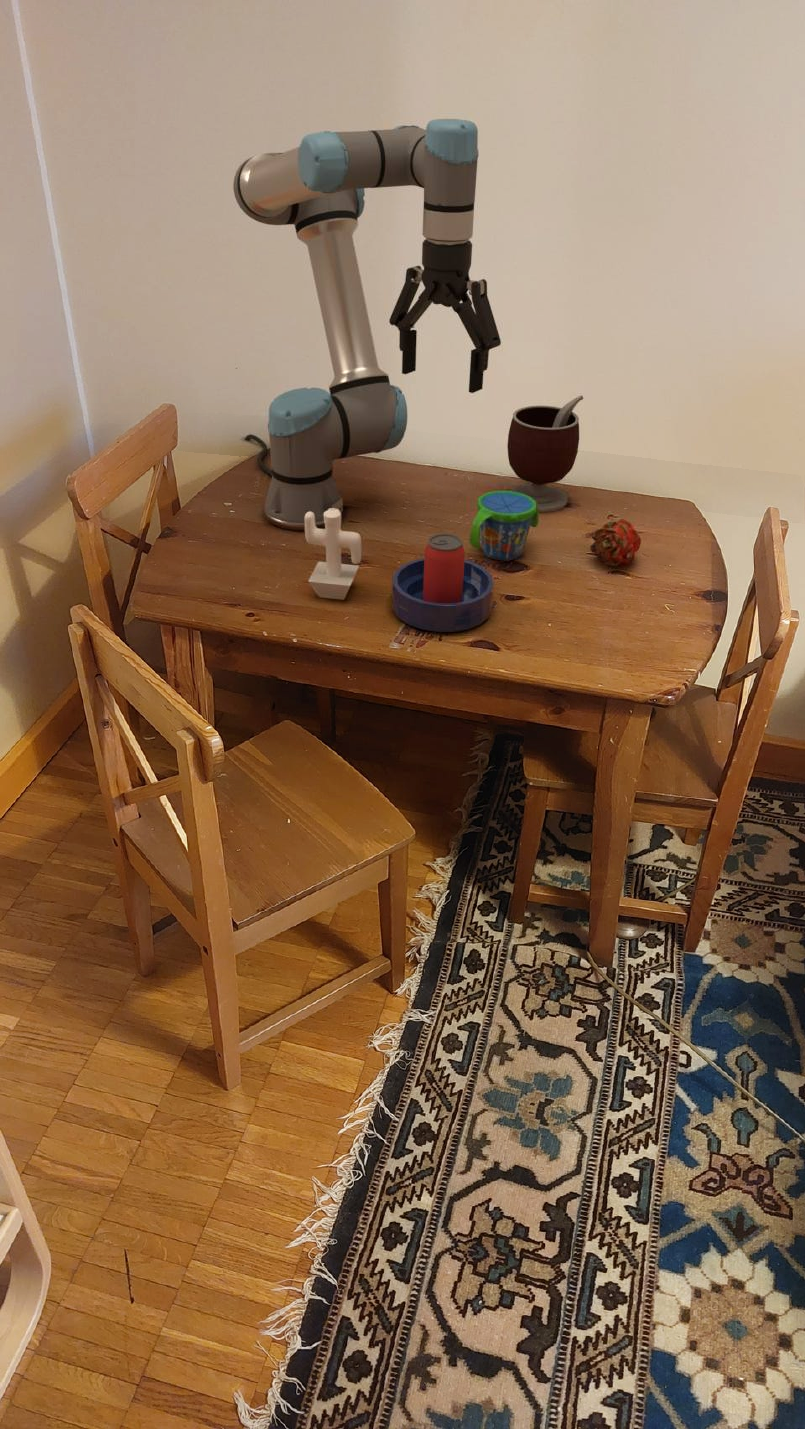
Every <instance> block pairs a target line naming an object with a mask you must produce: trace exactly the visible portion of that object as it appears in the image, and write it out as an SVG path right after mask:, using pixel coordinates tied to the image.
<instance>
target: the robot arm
mask: <svg viewBox="0 0 805 1429" xmlns="http://www.w3.org/2000/svg"><path fill="white" fill-rule="evenodd" d="M478 133H479V130H478V126H477V125H476V123H475V122H473V121H471V120H467V119H459V118H438V119H437V118H435V119H432V120H430V121H428V122H427V125H426V127H425V129H424V128H422V127H420V126H418V125H405V124H404V125H398V126H395V127H394V128H391V129H376V130H375V129H374V130H359V131H358V130H357V131H330V130H325V131H320V132H315V133H308V134H306V135H305V136H303V138H302V139H301V142H300V144H299V146H297V147H294V148H292V149H290V150H287V151H283V152H268V153H262V154H258V155H254V156H252V157H249V158H248V159H246V160H244V161H243V162H241V164H240V165H239V166H238V168H237V170H236V172H235V174H234V177H233V184H232V185H233V186H232V187H233V194H234V198H235V200H236V203H237V204H238V207H239V208H240V209H241V210H242V212H243V213H244V214H245V215H246V216H248V217H249V218H250V219H252V220H254V221H256V222H258V223H260V224H265V225H269V226H286V225H291V226H292V225H294V229H295V234H296V238H297V239H298V241H300V242H302V243H303V244H305V245H306V247H307V251H308V255H309V260H310V265H311V270H312V275H313V279H314V285H315V289H316V294H317V299H318V303H319V309H320V313H321V319H322V323H323V328H324V332H325V337H326V342H327V346H328V352H329V357H330V362H331V366H332V371H333V379H332V381H331V382H330V384H329V385H328V390H326V389H323V388H320V387H310V388H308V387H300V388H294V389H291V390H288V391H285V392H283V393H281V394H279V395H278V396H276V397H275V398H274V399H273V401H271V403H270V405H269V408H268V422H267V429H268V437H269V449H270V450H269V452H270V465H271V466H270V468H271V469H270V468H269V467H267V466H266V465H265V464H264V462H263V460H264V459H265V458H264V457H265V456H266V454H267V453H268V446H267V443H265V441H263V440H262V439H261V438H260V437H259V436H257V435H255V434H250V433H249V434H246V436H245V438H244V441H246V442H247V441H250V440H253V441H255V442H257V443H258V445H259V446H261V448H262V451H261V452H260V454H259V455H258V457H257V465H258V467H259V468H260V469H261V470H262V471H263V472H264V473H266V474H267V475H269V476H271V480H270V484H269V487H268V490H267V493H266V498H265V501H264V517H265V519H266V521H268V522H269V523H270V524H272V525H273V526H276V527H278V528H280V529H285V530H290V531H301V532H302V531H304V532H305V520H304V518H305V514H306V513H307V512H313V513H314V515H315V525H316V527H317V528H318V529H325V523H324V512H325V511H328V509H330V508H335V509H338V510H339V511H340V513H341V518H343V515H344V506H343V504H344V503H343V498H342V497H341V495H340V492H339V489H338V486H337V484H336V480H335V479H334V472H333V470H334V469H333V461H335V460H340V459H345V458H346V459H347V458H351V457H357V456H363V455H368V454H378V453H381V452H383V451H387V450H391V449H394V448H396V447H397V446H399V445H400V444H401V443H402V441H403V439H404V437H405V433H406V430H407V425H408V405H407V400H406V397H405V394H404V393H403V391H402V389H401V387H399V386H397V385H394V384H391V382H390V377H389V374H388V373H387V372H385V371H383V370H382V369H381V368H380V367H379V363H378V356H377V352H376V348H375V343H374V338H373V333H372V327H371V321H370V317H369V312H368V307H367V301H366V297H365V293H364V292H365V291H364V288H363V282H362V277H361V273H360V266H359V263H358V262H359V261H358V258H357V253H356V248H355V242H354V237H353V236H354V234H355V232H356V230H357V228H358V227H359V220H358V219H359V218H360V217H361V216H362V214H363V212H364V210H365V203H366V202H365V198H364V197H365V196H366V193H365V189H378V188H379V189H380V188H393V187H395V188H396V187H408V186H409V187H410V186H411V187H418V188H421V189H423V207H422V208H423V209H422V210H423V212H422V236H423V237H424V238H425V239H424V240H423V241H422V244H421V245H422V246H421V252H422V253H421V265H422V267H421V265H415V266H411V267H408V268H407V269H406V270H405V278H404V284H403V286H402V288H401V291H400V294H399V296H398V298H397V301H396V303H395V305H394V308H393V309H392V312H391V315H390V318H389V320H388V321H389V324H390V326H395V327H396V328H397V330H398V332H399V340H398V341H399V346H398V347H399V351H400V352H402V354H401V374H402V375H408V374H410V373H414V372H416V369H417V338H418V337H417V336H418V333H417V332H418V330H416V329H414V328H415V327H416V326H415V325H416V323H417V322H418V321H419V320H420V318H421V317H422V316H423V315H424V314H425V312H426V311H427V310H428V308H429V307H430V306H431V305H432V304H434V305H442V306H443V307H446V308H451V309H452V310H453V312H454V313H456V314H457V316H458V317H459V319H460V321H461V323H462V325H463V327H464V329H465V330H466V333H467V335H468V337H469V338H470V340H471V342H472V344H473V346H474V349H471V350H470V362H469V363H470V364H469V378H468V382H469V383H468V393H470V394H474V393H476V392H479V391H481V390H483V384H484V372H485V371H487V370H488V367H489V357H490V356H489V354H490V350H492V349H495V348H497V347H500V346H501V344H502V341H501V338H500V337H501V336H500V333H499V330H498V328H497V327H498V326H497V324H496V319H495V316H494V314H493V310H492V307H491V303H490V300H489V296H488V282H487V280H486V279H485V278H483V279H478V280H471V278H470V269H471V266H472V258H473V243H472V241H471V239H472V238H473V234H474V217H475V202H476V187H477V176H478V175H477V173H478V161H479V160H478V159H479V149H478V143H479V142H478V139H479V138H478V137H479V134H478ZM422 268H423V269H422ZM421 283H422V284H423V286H424V289H423V291H422V292H421V293H420V294H419V296H418V297H417V300H416V302H415V303H414V304H413V306H412V303H413V301H414V300H415V296H416V294H417V292H418V290H419V287H420V285H421ZM470 296H471V298H470ZM411 306H412V307H411Z"/></svg>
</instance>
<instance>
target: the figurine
mask: <svg viewBox="0 0 805 1429" xmlns="http://www.w3.org/2000/svg"><path fill="white" fill-rule="evenodd" d="M304 520H305V531H304V535H305V536H304V537H305V540H306V542H307V543H308V544H309V545H313V546H323V547H325V561H317V564H316V565H315V567H314V569H313V570H312V573H311V575H310V577H309V578H308V580H307V582H308V583H309V585H310V586H311V588H312V589H313V591H314V592H315V594H316V595H317V596H318V597H319V598H323V599H333V600H342V601H344V600H345V598H346V596H347V594H348V592H349V590H350V587H351V585H352V583H353V582H354V579H355V576H356V574H357V572H358V570H359V568H360V565H359V564H361V562H362V538H361V535H360V534H359V532H356V531H347V530H342V529H341V527H342V526H341V525H342V517H341V513H340V511H339V510H338V509H335V508H330V509H328V511H325V512H324V523H325V528H321V529H318V528H317V527H316V525H315V515H314V513H313V512H307V513H306V514H305V518H304ZM342 548H343V549H349V550H350V555H351V556H350V559H351V563H352V564H348V563H347V564H346V563H342Z"/></svg>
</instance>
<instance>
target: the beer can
mask: <svg viewBox="0 0 805 1429" xmlns="http://www.w3.org/2000/svg"><path fill="white" fill-rule="evenodd" d="M423 558H424V585H423V601H428V602H434V603H458V602H462V593H463V577H464V561H465V560H466V551H465V547H464V545H463V540H462V538H461V537H459V536H458V535H455V534H451V533H438V534H434V535H432V536H430V537H429V538H428V541H427V544H426V547H425V551H424V556H423Z"/></svg>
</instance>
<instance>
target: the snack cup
mask: <svg viewBox="0 0 805 1429" xmlns="http://www.w3.org/2000/svg"><path fill="white" fill-rule="evenodd" d="M476 504H477V511H478V512H477V513H476V515H475V516H474V519H473V521H472V524H471V528H470V531H469V537H468V538H469V539H468V540H469V543H470V545H471V546H472V547H473V548H475V549H480V548H481V549H482V552H483V553H484V555H486V557H487V558H489V559H493V560H496V561H505V562H510V561H513V560H516V559H518V558H519V557H521V556H523V553H524V550H525V547H526V542H527V540H528V536H529V533H530V528H531V527H532V528H536V527H538V525H539V523H540V522H539V520H540V517H539V516H540V512H538V505H537V502H536V501H535V500H533V499H532V498H531V497H529V496H527V495H525V494H522V493H518V492H512V491H509V490H494V491H489V492H486V493H484V494H481V495H480V496H479V497H478V499H477V501H476Z"/></svg>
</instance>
